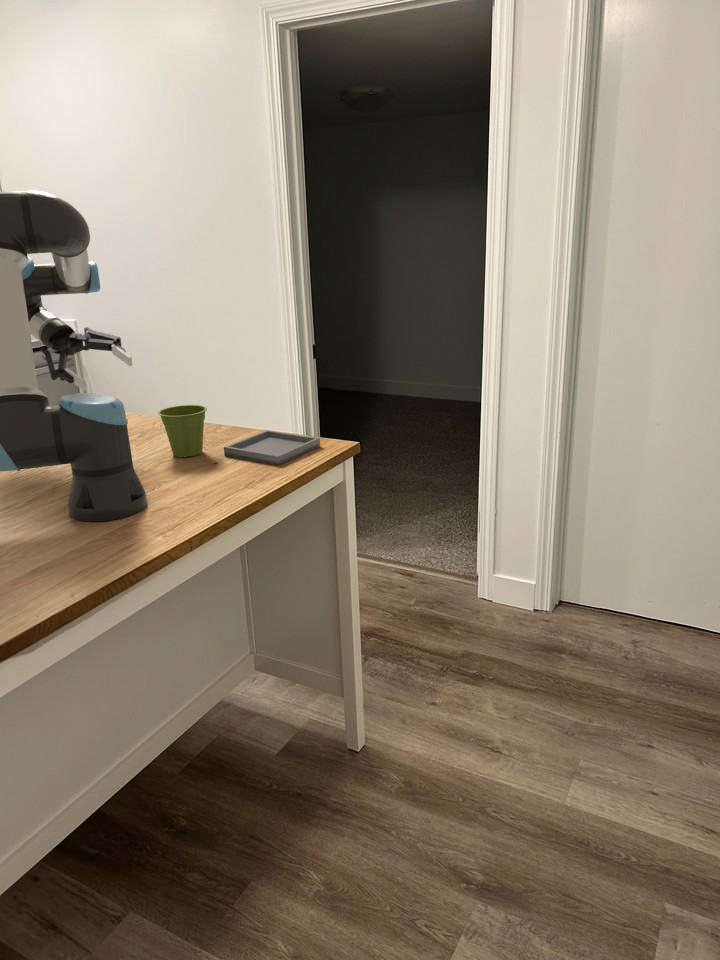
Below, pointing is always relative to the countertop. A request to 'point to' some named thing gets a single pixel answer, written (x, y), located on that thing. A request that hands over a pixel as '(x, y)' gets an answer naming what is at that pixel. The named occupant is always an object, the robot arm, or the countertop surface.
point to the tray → (272, 447)
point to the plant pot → (184, 428)
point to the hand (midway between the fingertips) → (108, 373)
